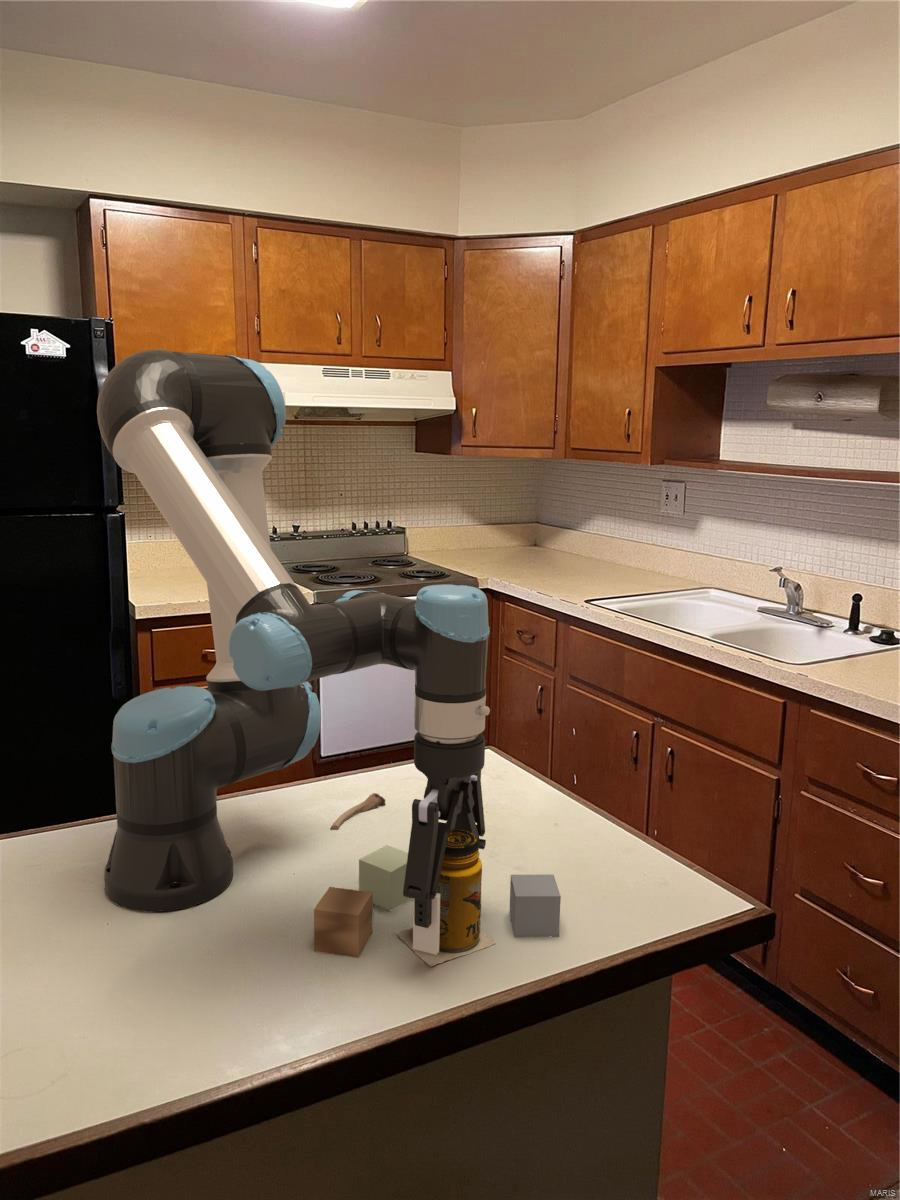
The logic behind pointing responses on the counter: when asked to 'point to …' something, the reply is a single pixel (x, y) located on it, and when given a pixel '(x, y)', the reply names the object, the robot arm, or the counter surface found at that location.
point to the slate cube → (534, 906)
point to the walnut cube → (343, 922)
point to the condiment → (457, 901)
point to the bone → (359, 809)
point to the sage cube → (384, 876)
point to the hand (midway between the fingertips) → (445, 924)
